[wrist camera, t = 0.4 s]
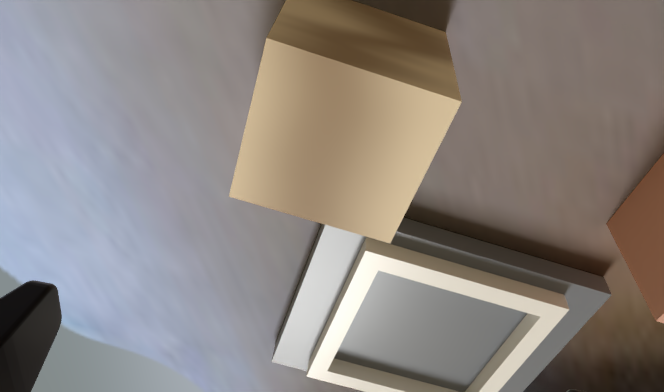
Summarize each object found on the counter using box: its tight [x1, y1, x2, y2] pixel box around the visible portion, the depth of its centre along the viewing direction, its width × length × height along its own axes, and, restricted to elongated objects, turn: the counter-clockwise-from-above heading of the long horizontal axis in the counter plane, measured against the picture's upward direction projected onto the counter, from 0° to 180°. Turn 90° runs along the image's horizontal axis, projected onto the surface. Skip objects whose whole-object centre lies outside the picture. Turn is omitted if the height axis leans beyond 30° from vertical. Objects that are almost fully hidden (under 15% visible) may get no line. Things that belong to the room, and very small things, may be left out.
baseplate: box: [272, 218, 611, 392], centre depth 24 cm, size 12×10×2 cm
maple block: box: [229, 0, 462, 243], centre depth 17 cm, size 5×5×5 cm
